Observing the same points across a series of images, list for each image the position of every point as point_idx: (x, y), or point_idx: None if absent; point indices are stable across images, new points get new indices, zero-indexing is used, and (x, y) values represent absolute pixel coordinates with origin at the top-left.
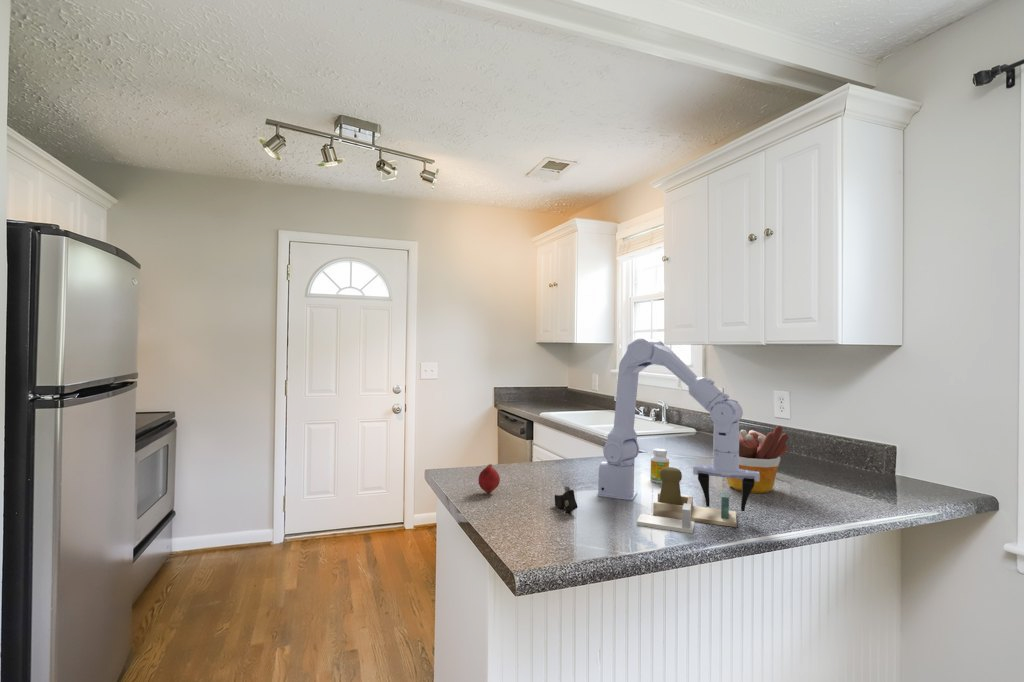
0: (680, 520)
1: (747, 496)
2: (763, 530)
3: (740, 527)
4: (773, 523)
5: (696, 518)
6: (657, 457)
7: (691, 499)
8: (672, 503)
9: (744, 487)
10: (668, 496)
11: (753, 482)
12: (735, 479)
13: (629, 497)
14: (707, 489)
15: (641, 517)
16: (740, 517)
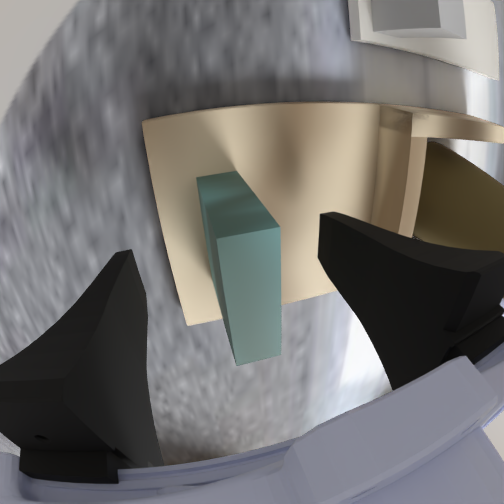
0: (409, 38)
1: (70, 312)
2: (31, 182)
3: (128, 148)
4: (39, 306)
5: (354, 103)
6: None
7: None
8: (461, 166)
9: (64, 355)
10: (492, 179)
11: (3, 431)
12: None
13: None
14: (403, 250)
15: (494, 42)
16: (162, 302)
